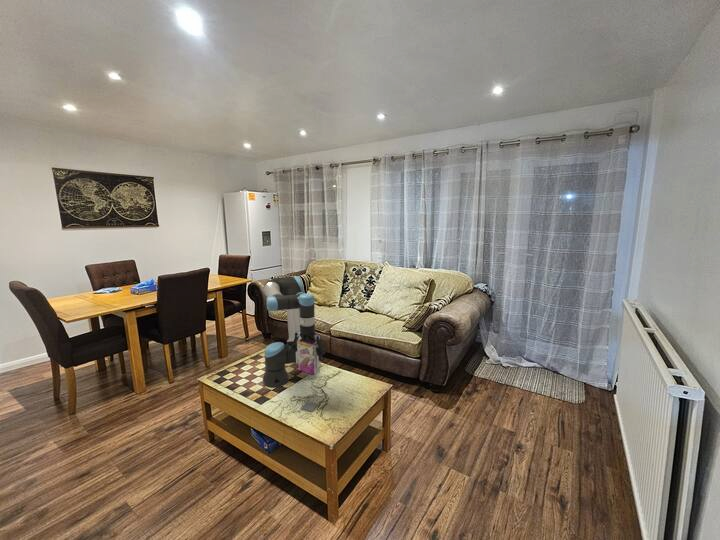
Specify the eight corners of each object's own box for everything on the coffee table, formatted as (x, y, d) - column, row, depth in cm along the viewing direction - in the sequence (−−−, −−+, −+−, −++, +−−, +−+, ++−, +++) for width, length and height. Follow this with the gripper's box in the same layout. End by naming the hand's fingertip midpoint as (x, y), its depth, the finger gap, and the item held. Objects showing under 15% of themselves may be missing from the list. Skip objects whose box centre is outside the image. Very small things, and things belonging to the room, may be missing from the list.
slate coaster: (300, 409, 159) (300, 408, 159) (307, 402, 166) (307, 401, 166) (312, 412, 157) (312, 411, 157) (318, 404, 163) (318, 403, 163)
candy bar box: (297, 370, 159) (296, 340, 156) (303, 366, 163) (302, 337, 160) (313, 376, 153) (313, 345, 151) (320, 371, 157) (319, 341, 155)
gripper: (283, 323, 155) (284, 363, 158) (325, 329, 146) (325, 371, 150) (291, 319, 162) (292, 357, 165) (331, 324, 153) (332, 365, 157)
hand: (308, 364), depth 158 cm, fingers closed on candy bar box, 12 cm apart
